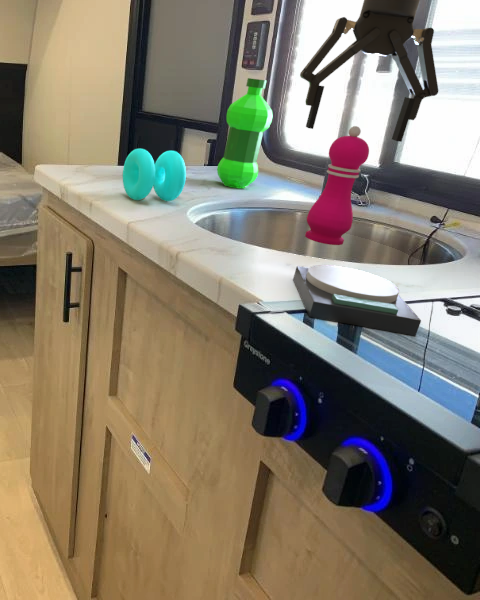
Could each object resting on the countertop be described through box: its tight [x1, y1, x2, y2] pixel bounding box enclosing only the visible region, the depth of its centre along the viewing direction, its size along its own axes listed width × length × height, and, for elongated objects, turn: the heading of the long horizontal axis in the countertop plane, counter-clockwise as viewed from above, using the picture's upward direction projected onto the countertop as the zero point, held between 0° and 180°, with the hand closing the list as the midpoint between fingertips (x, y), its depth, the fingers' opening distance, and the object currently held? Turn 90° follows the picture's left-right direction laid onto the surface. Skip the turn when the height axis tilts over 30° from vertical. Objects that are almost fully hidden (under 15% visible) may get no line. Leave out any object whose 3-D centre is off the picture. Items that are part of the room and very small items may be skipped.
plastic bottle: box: [216, 77, 273, 189], centre depth 144 cm, size 10×10×25 cm
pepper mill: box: [304, 125, 370, 246], centre depth 100 cm, size 7×7×20 cm
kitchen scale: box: [292, 264, 422, 337], centre depth 76 cm, size 12×14×3 cm
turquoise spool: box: [122, 147, 187, 202], centre depth 119 cm, size 10×10×10 cm
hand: (352, 134), depth 96 cm, fingers open, 13 cm apart
